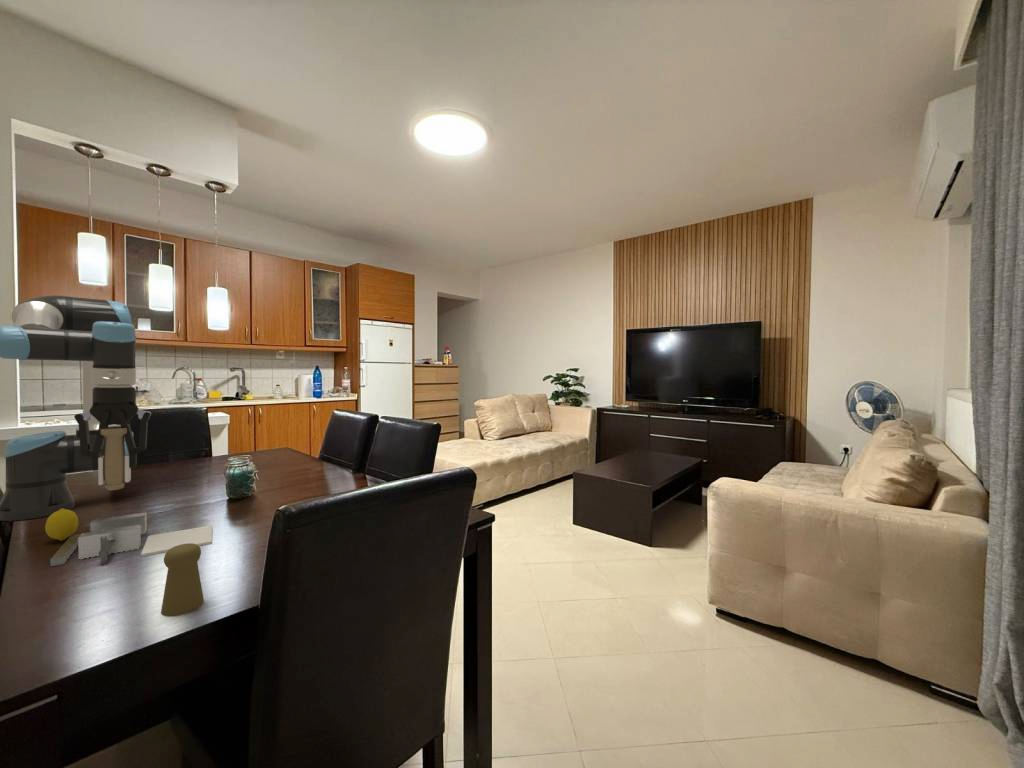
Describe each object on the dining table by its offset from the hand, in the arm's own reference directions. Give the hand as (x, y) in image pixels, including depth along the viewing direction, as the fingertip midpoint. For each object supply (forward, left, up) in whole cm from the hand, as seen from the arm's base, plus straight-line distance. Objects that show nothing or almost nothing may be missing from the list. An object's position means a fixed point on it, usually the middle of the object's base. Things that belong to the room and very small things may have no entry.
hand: (115, 482), depth 100 cm
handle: (0, 0, -2) cm, 2 cm away
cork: (+43, +15, -15) cm, 48 cm away
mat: (+6, +13, -15) cm, 21 cm away
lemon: (-10, -11, -15) cm, 21 cm away
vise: (+3, -2, -16) cm, 17 cm away
